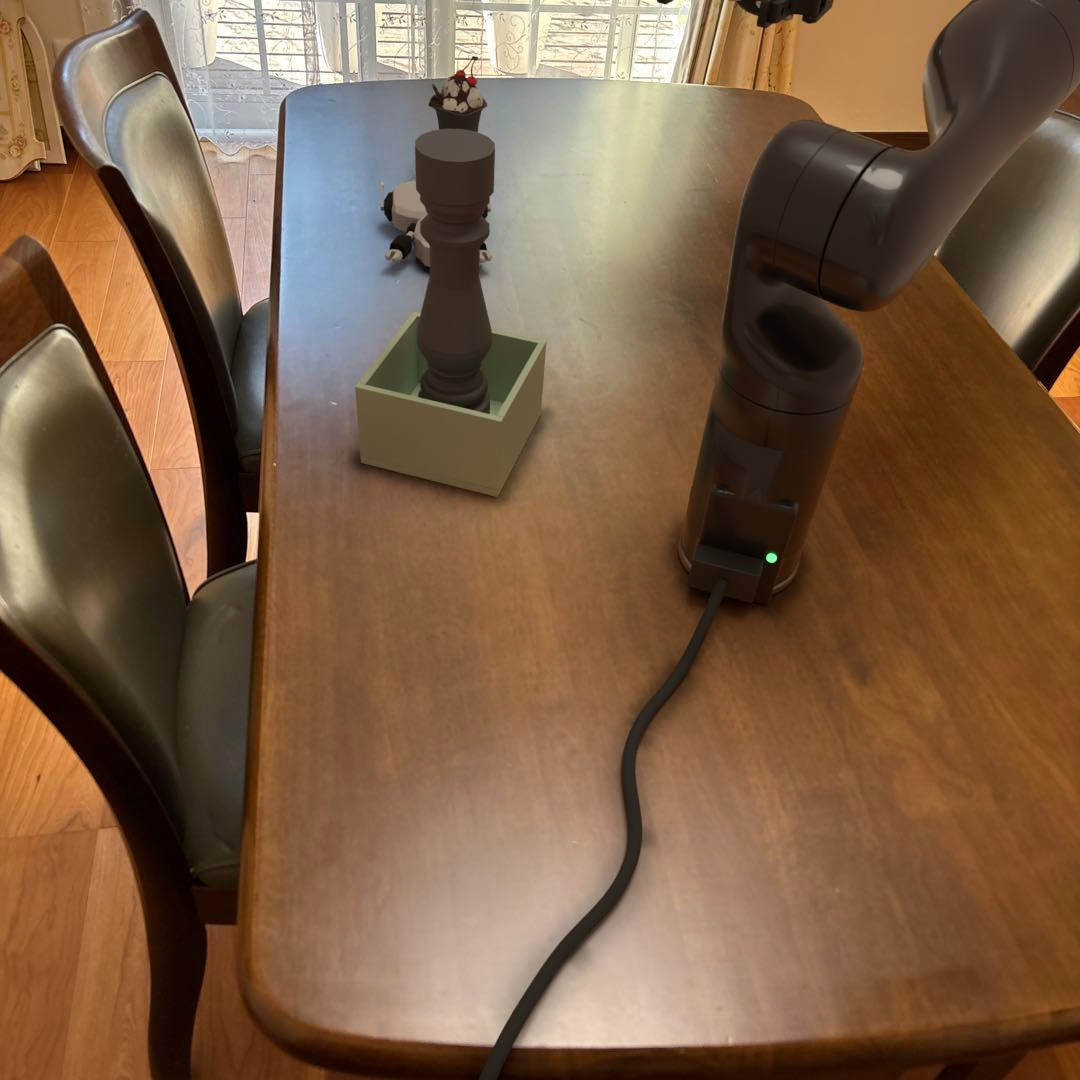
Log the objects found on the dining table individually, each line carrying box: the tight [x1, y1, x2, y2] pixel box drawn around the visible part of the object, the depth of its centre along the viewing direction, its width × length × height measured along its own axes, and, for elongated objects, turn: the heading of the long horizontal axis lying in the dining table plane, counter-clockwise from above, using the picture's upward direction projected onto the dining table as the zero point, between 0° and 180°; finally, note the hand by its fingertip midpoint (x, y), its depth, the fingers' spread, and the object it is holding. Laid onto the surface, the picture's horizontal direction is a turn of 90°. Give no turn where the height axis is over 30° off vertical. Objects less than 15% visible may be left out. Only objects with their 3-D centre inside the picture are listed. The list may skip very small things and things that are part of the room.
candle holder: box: [414, 129, 496, 414], centre depth 80 cm, size 6×6×25 cm
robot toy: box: [380, 179, 493, 268], centre depth 113 cm, size 12×4×15 cm
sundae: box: [428, 55, 488, 133], centre depth 120 cm, size 7×7×15 cm
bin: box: [354, 311, 547, 498], centre depth 87 cm, size 12×12×8 cm
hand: (711, 1), depth 79 cm, fingers open, 8 cm apart
